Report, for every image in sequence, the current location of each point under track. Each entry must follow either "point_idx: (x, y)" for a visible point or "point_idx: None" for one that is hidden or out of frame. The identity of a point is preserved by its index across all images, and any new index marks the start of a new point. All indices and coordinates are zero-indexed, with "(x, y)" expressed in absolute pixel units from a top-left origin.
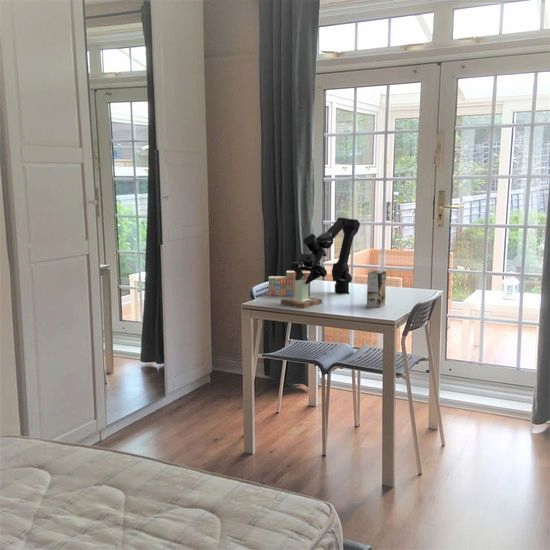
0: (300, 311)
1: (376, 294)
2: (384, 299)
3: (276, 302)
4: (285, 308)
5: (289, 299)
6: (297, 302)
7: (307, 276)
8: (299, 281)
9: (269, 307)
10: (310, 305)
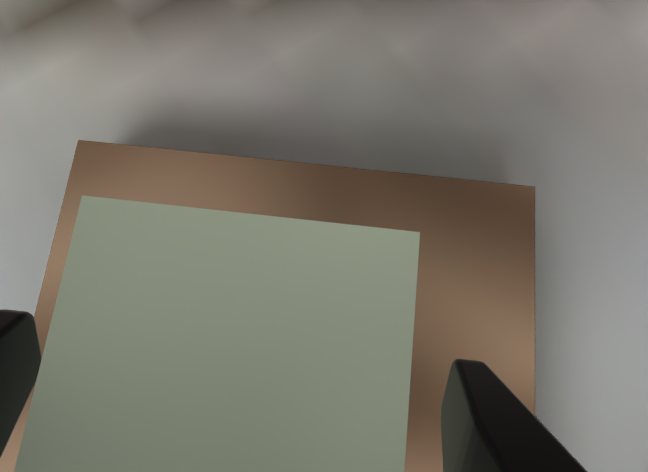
0: (56, 8)
1: None
2: None
3: (636, 266)
4: (301, 40)
5: (446, 290)
6: (211, 174)
7: None
8: (211, 217)
9: None
10: None
